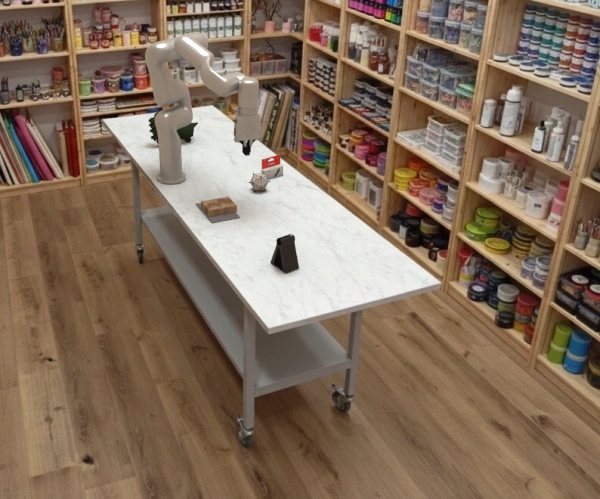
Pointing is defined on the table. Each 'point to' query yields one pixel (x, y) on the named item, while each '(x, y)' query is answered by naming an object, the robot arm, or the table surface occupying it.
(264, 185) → the game die
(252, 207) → the table surface
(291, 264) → the phone stand
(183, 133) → the toy figurine
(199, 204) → the mat
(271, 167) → the ink cartridge box
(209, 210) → the walnut slab
